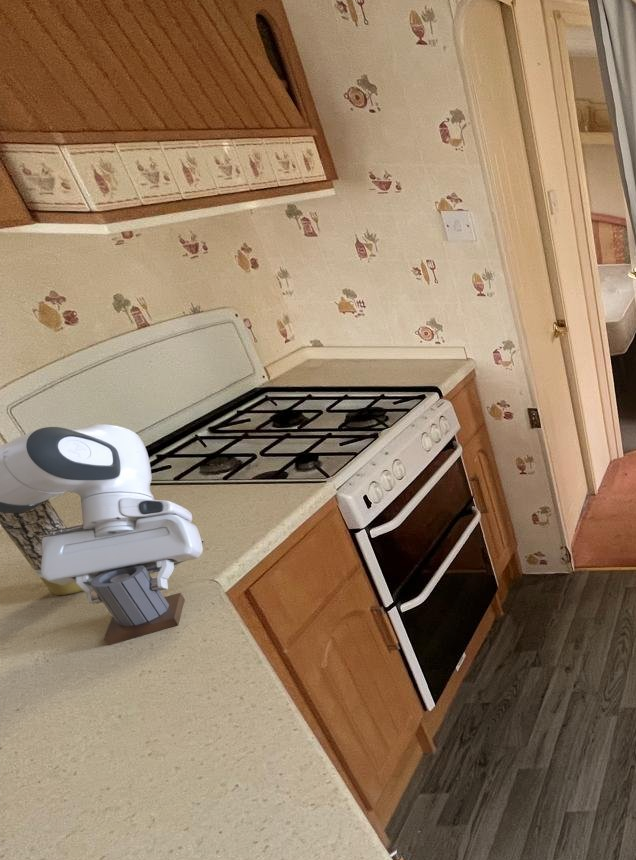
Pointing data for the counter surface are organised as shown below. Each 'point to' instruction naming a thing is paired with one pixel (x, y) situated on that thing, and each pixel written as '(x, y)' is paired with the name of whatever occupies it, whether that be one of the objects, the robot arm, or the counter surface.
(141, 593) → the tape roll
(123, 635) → the stand
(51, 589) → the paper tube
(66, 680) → the counter surface
